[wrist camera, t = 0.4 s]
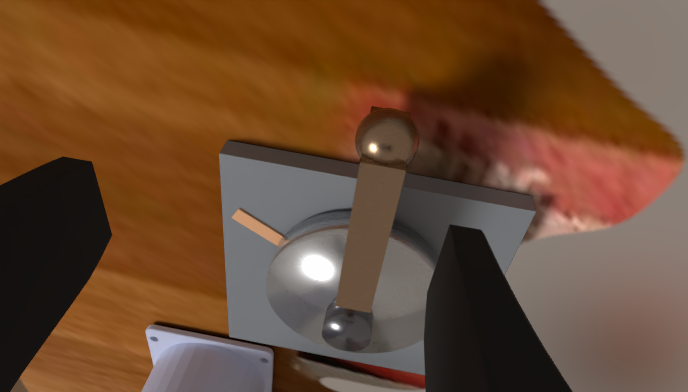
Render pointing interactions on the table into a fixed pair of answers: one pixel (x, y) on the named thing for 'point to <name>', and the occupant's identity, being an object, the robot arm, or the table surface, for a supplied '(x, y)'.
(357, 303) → the cam
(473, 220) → the stand plate
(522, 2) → the table surface
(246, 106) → the table surface
